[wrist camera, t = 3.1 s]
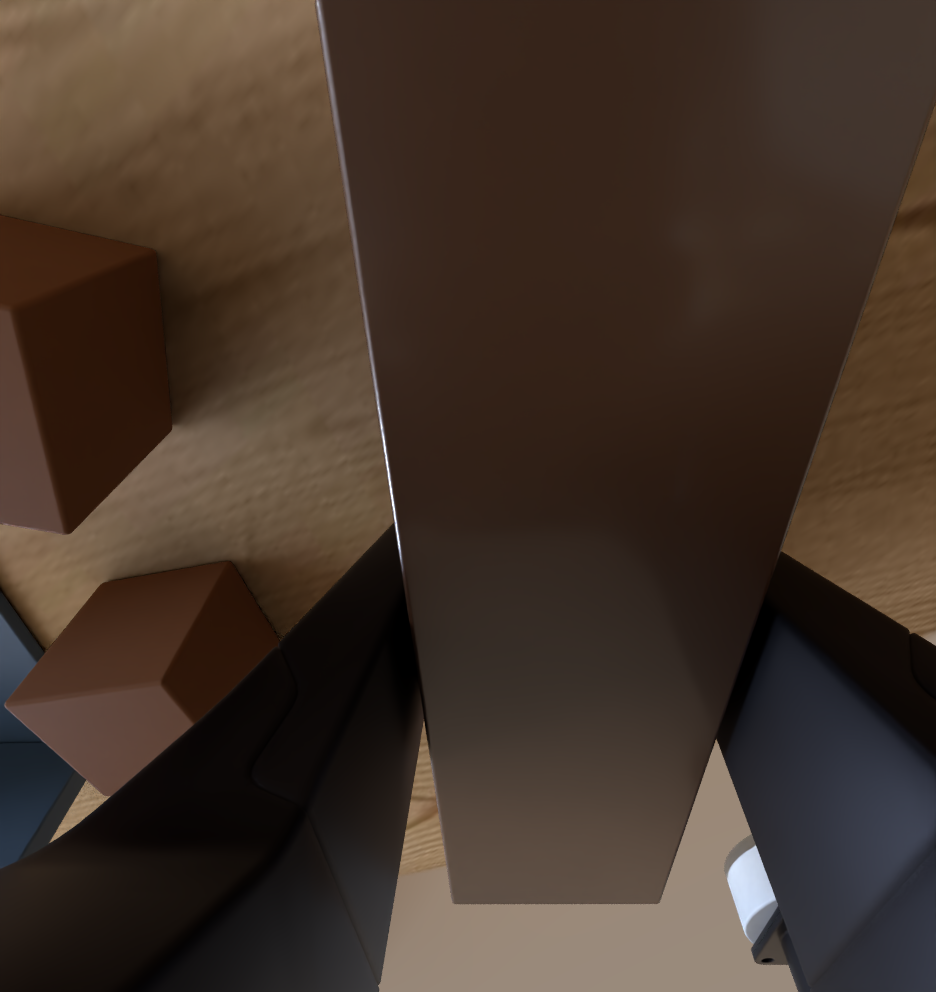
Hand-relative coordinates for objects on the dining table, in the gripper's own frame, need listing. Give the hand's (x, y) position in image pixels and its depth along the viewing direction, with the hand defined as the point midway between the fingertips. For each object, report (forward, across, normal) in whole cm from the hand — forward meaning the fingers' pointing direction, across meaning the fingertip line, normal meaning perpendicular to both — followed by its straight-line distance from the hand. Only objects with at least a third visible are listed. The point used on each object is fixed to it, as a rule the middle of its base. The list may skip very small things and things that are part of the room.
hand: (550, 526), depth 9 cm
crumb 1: (+2, +7, -3) cm, 8 cm away
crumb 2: (+2, +7, +4) cm, 8 cm away
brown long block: (+1, 0, 0) cm, 1 cm away
